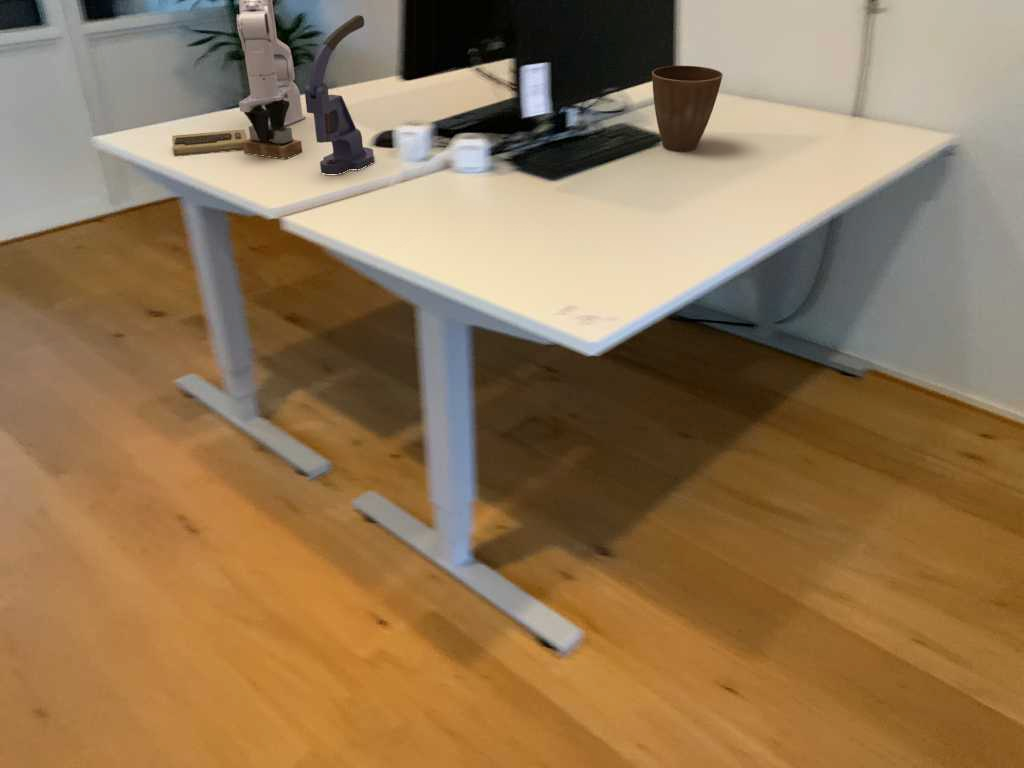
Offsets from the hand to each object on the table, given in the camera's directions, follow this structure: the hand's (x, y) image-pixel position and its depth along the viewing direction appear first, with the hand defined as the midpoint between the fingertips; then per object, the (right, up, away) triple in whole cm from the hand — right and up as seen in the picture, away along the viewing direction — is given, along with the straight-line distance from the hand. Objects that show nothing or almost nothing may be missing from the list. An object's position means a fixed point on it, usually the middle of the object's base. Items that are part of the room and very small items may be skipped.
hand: (271, 138), depth 185 cm
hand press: (+18, -7, -5) cm, 20 cm away
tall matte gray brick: (0, -3, +2) cm, 3 cm away
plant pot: (+90, 0, +6) cm, 90 cm away
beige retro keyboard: (-15, -1, +5) cm, 15 cm away
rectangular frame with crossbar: (0, -3, +2) cm, 3 cm away
